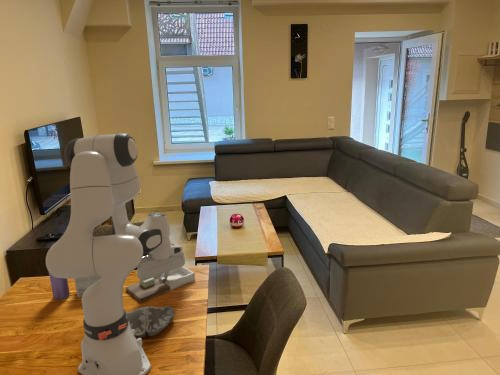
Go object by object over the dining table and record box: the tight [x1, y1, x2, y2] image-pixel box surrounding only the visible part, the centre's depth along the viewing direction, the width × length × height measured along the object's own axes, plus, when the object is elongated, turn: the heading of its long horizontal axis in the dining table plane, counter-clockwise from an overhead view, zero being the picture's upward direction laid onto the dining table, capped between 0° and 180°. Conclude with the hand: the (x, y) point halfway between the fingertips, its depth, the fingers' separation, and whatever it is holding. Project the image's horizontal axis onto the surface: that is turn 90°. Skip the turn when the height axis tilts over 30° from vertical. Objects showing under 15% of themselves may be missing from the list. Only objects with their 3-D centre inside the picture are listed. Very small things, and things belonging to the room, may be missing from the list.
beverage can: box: [48, 271, 70, 301], centre depth 149 cm, size 6×6×15 cm
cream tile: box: [164, 276, 178, 286], centre depth 157 cm, size 4×4×2 cm
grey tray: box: [155, 266, 196, 291], centre depth 161 cm, size 12×12×4 cm
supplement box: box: [74, 275, 101, 298], centre depth 156 cm, size 17×13×9 cm
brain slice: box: [125, 305, 176, 338], centre depth 129 cm, size 20×17×3 cm
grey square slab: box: [125, 277, 171, 303], centre depth 153 cm, size 13×13×2 cm
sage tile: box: [138, 277, 155, 288], centre depth 155 cm, size 4×4×2 cm
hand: (163, 282), depth 154 cm, fingers closed
